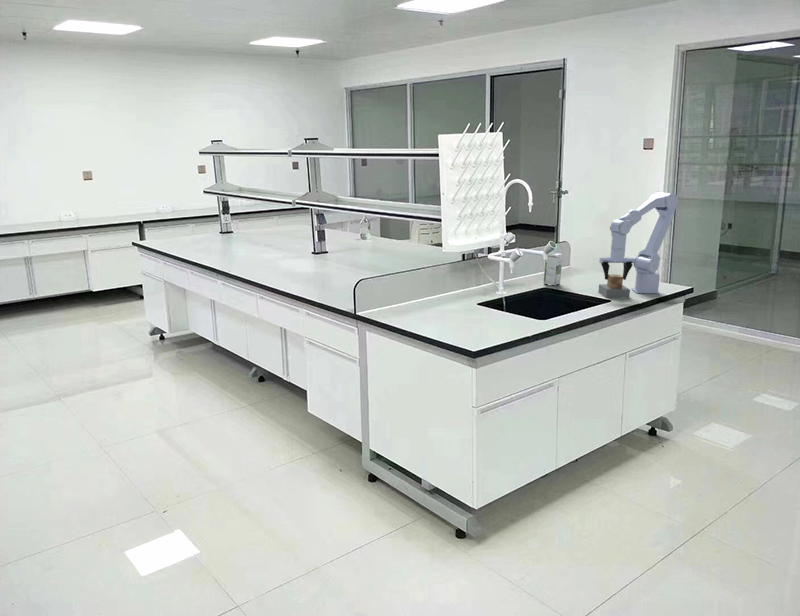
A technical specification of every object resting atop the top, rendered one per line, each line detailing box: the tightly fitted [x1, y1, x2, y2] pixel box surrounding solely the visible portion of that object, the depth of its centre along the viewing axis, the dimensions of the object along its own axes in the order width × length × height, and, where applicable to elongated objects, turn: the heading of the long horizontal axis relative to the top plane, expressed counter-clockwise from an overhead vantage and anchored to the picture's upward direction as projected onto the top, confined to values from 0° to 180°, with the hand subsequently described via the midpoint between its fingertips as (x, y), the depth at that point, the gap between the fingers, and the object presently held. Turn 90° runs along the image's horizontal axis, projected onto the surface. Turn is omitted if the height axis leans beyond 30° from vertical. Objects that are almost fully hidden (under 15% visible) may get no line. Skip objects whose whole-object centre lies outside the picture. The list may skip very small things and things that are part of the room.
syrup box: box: [543, 252, 563, 286], centre depth 297 cm, size 6×6×14 cm
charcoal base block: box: [598, 283, 631, 299], centre depth 279 cm, size 10×10×4 cm
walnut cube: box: [606, 273, 624, 288], centre depth 278 cm, size 5×5×5 cm
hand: (615, 279), depth 278 cm, fingers open, 7 cm apart
